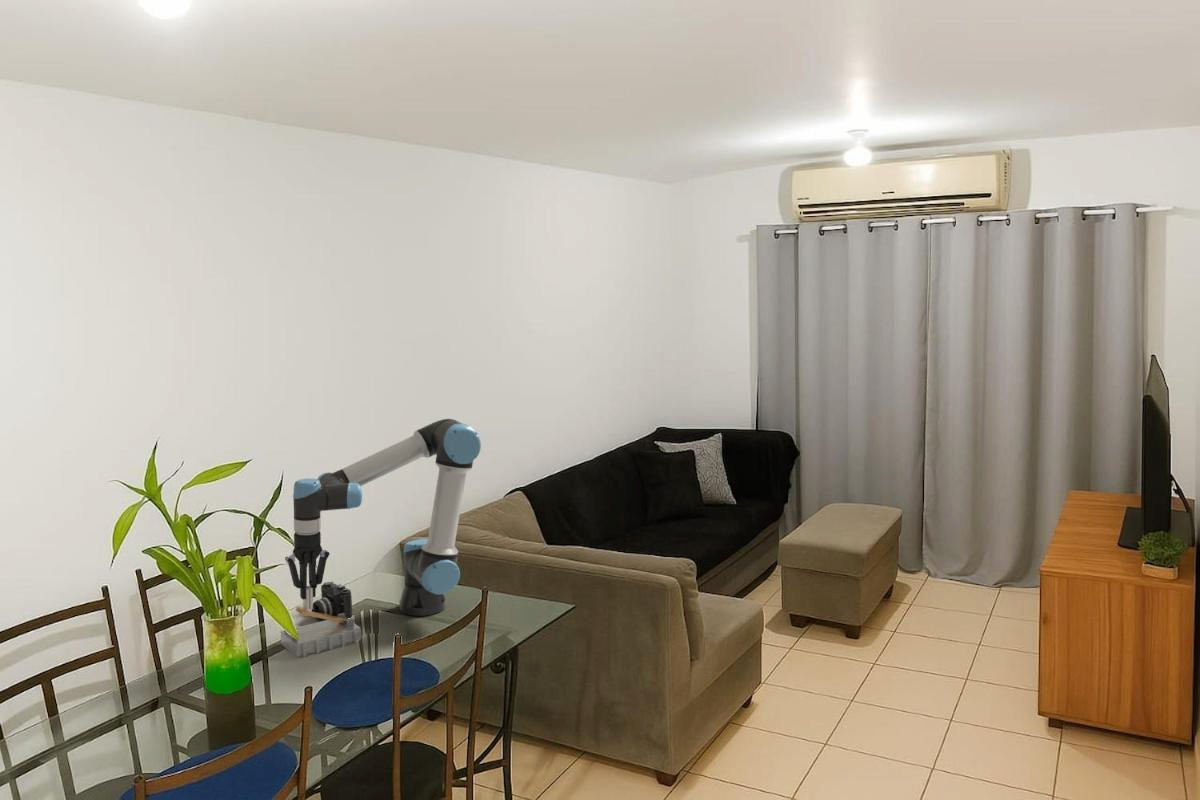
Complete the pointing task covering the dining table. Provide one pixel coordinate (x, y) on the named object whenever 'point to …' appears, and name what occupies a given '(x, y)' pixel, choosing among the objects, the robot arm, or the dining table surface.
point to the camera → (334, 601)
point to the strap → (320, 615)
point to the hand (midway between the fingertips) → (308, 608)
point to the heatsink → (321, 636)
